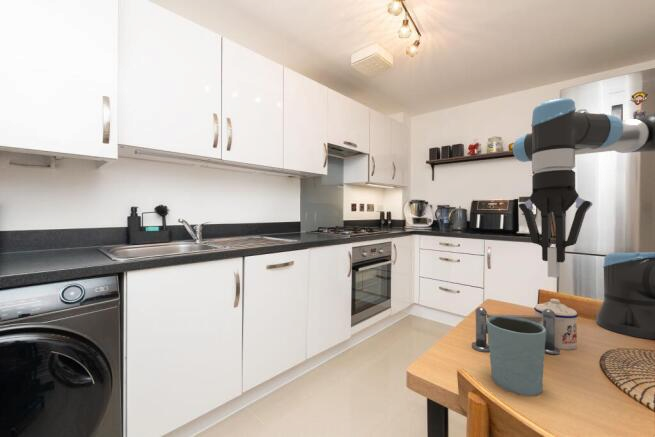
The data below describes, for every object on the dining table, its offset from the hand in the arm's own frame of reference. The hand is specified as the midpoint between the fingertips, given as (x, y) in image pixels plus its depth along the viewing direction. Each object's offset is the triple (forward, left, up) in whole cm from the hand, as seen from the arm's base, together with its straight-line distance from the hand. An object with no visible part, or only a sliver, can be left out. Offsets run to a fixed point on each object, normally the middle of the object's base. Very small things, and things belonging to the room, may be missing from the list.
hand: (553, 276), depth 63 cm
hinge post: (-4, -8, -20) cm, 22 cm away
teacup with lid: (-10, -14, -21) cm, 27 cm away
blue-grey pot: (+12, +7, -21) cm, 25 cm away
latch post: (+12, -8, -20) cm, 25 cm away
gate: (+4, -8, -19) cm, 21 cm away
